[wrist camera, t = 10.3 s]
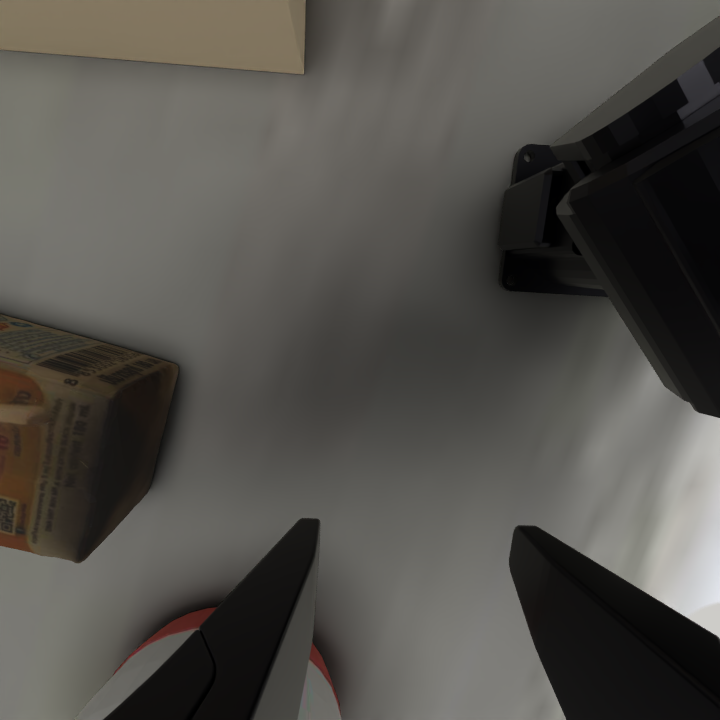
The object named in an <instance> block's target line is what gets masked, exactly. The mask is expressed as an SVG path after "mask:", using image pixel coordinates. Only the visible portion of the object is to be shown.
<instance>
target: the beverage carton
mask: <svg viewBox="0 0 720 720" xmlns="http://www.w3.org/2000/svg"><path fill="white" fill-rule="evenodd" d="M178 372H179V367H178V366H177V365H176V364H174V363H170V362H166V361H163V360H160V359H157V358H154V357H151V356H148V355H144V354H141V353H138V352H134V351H131V350H128V349H124V348H121V347H118V346H114V345H111V344H107V343H103V342H100V341H96V340H93V339H89V338H85V337H82V336H78V335H75V334H71V333H67V332H64V331H60V330H57V329H53V328H49V327H45V326H41V325H37V324H34V323H31V322H27V321H24V320H20V319H15V318H12V317H8V316H5V315H1V314H0V546H4V547H9V548H14V549H18V550H23V551H27V552H31V553H35V554H38V555H41V556H49V557H57V558H62V559H66V560H70V561H73V562H75V563H81V562H82V561H84V560H85V559H86V558H87V557H88V556H89V555H90V554H91V553H92V552H93V551H94V550H95V549H96V548H97V547H98V546H99V545H100V544H101V543H102V542H103V541H104V540H105V539H106V538H107V536H108V535H109V534H110V533H111V532H112V531H113V530H114V529H115V528H116V527H117V526H118V525H119V523H120V522H121V521H122V520H123V519H124V518H125V517H126V516H127V515H128V514H129V513H130V511H131V510H132V509H133V508H134V507H135V506H136V505H137V504H138V503H139V502H140V501H141V500H142V498H143V497H144V496H145V495H146V494H147V493H148V491H149V489H150V485H151V481H152V477H153V473H154V468H155V463H156V459H157V455H158V451H159V447H160V443H161V439H162V435H163V432H164V428H165V424H166V420H167V416H168V412H169V408H170V404H171V400H172V396H173V391H174V388H175V384H176V380H177V376H178Z"/></svg>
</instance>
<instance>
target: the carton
mask: <svg viewBox="0 0 720 720" xmlns="http://www.w3.org/2000/svg"><path fill="white" fill-rule="evenodd" d="M305 15H306V0H0V50H10V51H22V52H35V53H47V54H59V55H71V56H83V57H96V58H108V59H120V60H132V61H145V62H157V63H169V64H181V65H193V66H206V67H218V68H230V69H242V70H254V71H267V72H279V73H291V74H303V75H304V54H305Z"/></svg>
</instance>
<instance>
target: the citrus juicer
mask: <svg viewBox="0 0 720 720" xmlns="http://www.w3.org/2000/svg"><path fill="white" fill-rule="evenodd" d="M216 608H217V607H215V608H207V609H203V610H199V611H195V612H191V613H188V614H186V615H184V616H182V617H180V618H178V619H176V620H173V621H172V622H170V623H169V624H168V625H166V626H165V627H163V628H162V629H161V630H159V631H158V632H157V633H155V634H154V635H153V636H152V637H150V638H149V639H148V640H147V641H146V642H144V643H143V644H142V645H141V646H140V647H139V648H137V649H136V650H135V651H134V652H133V653H132V654H131V655H130V656H129V657H128V658H127V659H126V660H125V661H124V662H123V663H122V664H121V665H120V667H119V668H118V669H117V670H116V671H115V673H114V674H113V676H112V677H111V678H110V680H109V681H108V682H107V683H106V684H105V685H104V686H103V687H102V688H101V689H100V690H99V691H98V692H97V693H96V694H95V696H94V697H93V698H92V699H91V700H90V701H89V702H88V703H87V705H86V706H85V707H84V708H83V709H82V710H81V712H80V713H79V714H78V715H77V717H76V718H75V719H74V720H103V719H104V718H105V717H106V716H107V715H109V714H110V713H111V712H112V711H113V710H114V709H115V708H116V707H118V706H119V705H120V704H121V703H122V702H123V701H124V700H125V699H126V698H127V697H128V696H130V695H131V694H132V693H133V692H134V691H135V690H136V689H137V688H138V687H139V686H140V685H141V684H143V683H144V682H145V681H146V680H147V679H148V678H149V677H150V676H151V675H152V674H153V673H154V672H155V671H156V670H157V669H158V668H159V667H160V666H161V665H162V664H163V663H164V662H165V661H166V660H167V659H168V658H169V657H170V656H171V655H172V654H173V653H174V652H175V651H176V650H177V649H178V648H179V647H180V646H181V645H182V644H183V643H184V642H185V641H186V640H187V639H188V638H189V636H190V635H191V634H192V633H193V632H194V631H195V630H198V629H199V626H200V625H201V624H202V623H203V622H204V621H205V620H206V619H207V618H208V616H209V615H210V614H211V613H212V612H213V611H214V610H215V609H216ZM297 720H342V719H341V713H340V704H339V701H338V698H337V695H336V692H335V689H334V687H333V684H332V681H331V679H330V676H329V673H328V670H327V668H326V666H325V663H324V661H323V659H322V656H321V655H320V653H319V652H318V650H317V648H316V647H315V645H314V644H313V642H312V645H311V652H310V657H309V662H308V668H307V673H306V678H305V683H304V688H303V693H302V699H301V704H300V709H299V714H298V719H297Z"/></svg>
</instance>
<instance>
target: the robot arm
mask: <svg viewBox="0 0 720 720" xmlns="http://www.w3.org/2000/svg"><path fill="white" fill-rule="evenodd" d="M526 152H527V153H529V154H530V155H531V161H530V162H526V161H525V160H524V154H525V153H526ZM498 245H499V247H500V248H501V250H503V252H502V259H501V267H500V274H499V285H500V287H501V288H503V289H504V290H508V291H519V292H536V293H553V294H570V295H587V296H603V297H609V299H610V300H611V302H612V303H613V305H614V307H615V308H616V310H617V311H618V313H619V315H620V316H621V318H622V319H623V321H624V322H625V324H626V326H627V327H628V329H629V330H630V332H631V334H632V335H633V337H634V338H635V340H636V342H637V343H638V345H639V346H640V348H641V350H642V351H643V353H644V354H645V356H646V357H647V359H648V361H649V362H650V364H651V365H652V367H653V369H654V370H655V372H656V373H657V375H658V377H659V378H660V380H661V381H662V383H663V385H664V386H665V387H666V388H668V389H669V390H670V391H672V392H673V393H675V394H676V395H677V396H679V397H680V398H682V399H683V400H685V401H687V402H690V403H691V405H692V407H693V408H694V410H695V411H697V412H699V413H703V414H707V415H710V416H714V417H718V418H720V16H718V17H717V18H715V19H714V20H713V21H711V22H710V23H708V24H707V25H705V26H704V27H703V28H701V29H700V30H698V31H697V32H695V33H694V34H693V35H691V36H690V37H688V38H687V39H685V40H684V41H683V42H681V43H680V44H678V45H677V46H675V47H674V48H673V49H671V50H670V51H669V52H667V53H666V54H665V55H664V56H662V57H661V58H660V59H659V60H657V61H656V62H655V63H654V64H652V65H651V66H650V67H649V68H647V69H646V70H645V71H644V72H642V73H641V74H640V75H638V76H637V77H636V78H635V79H633V80H632V81H631V82H630V83H628V84H627V85H626V86H625V87H623V88H622V89H621V90H620V91H618V92H617V93H616V94H615V95H613V96H612V97H611V98H610V99H608V100H607V101H606V102H605V103H603V104H602V105H601V106H600V107H598V108H597V109H596V110H594V111H593V112H592V113H591V114H589V115H588V116H587V117H586V118H584V119H583V120H582V121H581V122H579V123H578V124H577V125H576V126H574V127H573V128H572V129H571V130H569V131H568V132H567V133H566V134H564V135H563V136H562V137H561V138H559V139H558V140H557V141H556V142H554V143H553V144H552V145H551V146H549V145H536V144H529V145H526V146H524V147H522V148H521V149H519V151H518V152H517V153H516V156H515V162H514V169H513V177H512V184H511V186H510V187H509V188H508V189H507V190H506V191H505V196H504V204H503V211H502V219H501V227H500V234H499V242H498ZM510 275H512V276H513V277H514V282H513V283H512V284H511V285H508V284H507V278H508V277H509V276H510ZM319 546H320V520H319V519H313V518H301V519H299V520H298V521H297V523H296V524H295V525H294V526H293V527H292V528H291V529H290V530H289V531H288V532H287V533H286V534H285V535H284V536H283V537H282V539H281V540H280V541H279V542H278V543H277V544H276V545H275V546H274V547H273V548H272V549H271V550H270V551H269V552H268V553H267V555H266V556H265V557H264V558H263V559H262V560H261V561H260V562H259V563H258V564H257V565H256V566H255V567H254V568H253V569H252V571H251V572H250V573H249V574H248V575H247V576H246V577H245V578H244V579H243V580H242V581H241V582H240V583H239V584H238V586H237V587H236V588H235V589H234V590H233V591H232V592H231V593H230V594H229V595H228V596H227V597H226V598H225V599H224V600H223V602H222V603H221V604H220V605H219V606H218V607H217V608H216V609H215V610H214V611H213V612H212V613H211V614H210V615H209V616H208V618H207V619H206V620H205V621H204V622H203V623H202V624H201V625H200V626H199V629H198V630H195V631H194V632H193V633H192V634H191V635H190V636H189V638H188V639H187V640H186V641H185V642H184V643H183V644H182V645H181V646H180V647H179V648H178V649H177V650H176V651H175V652H174V653H173V654H172V655H171V656H170V657H169V658H168V659H167V660H166V661H165V662H164V663H163V664H162V665H161V666H160V667H159V668H158V669H157V670H156V671H155V672H154V673H153V674H152V675H151V676H150V677H149V678H148V679H147V680H146V681H145V682H144V683H143V684H141V685H140V686H139V687H138V688H137V689H136V690H135V691H134V692H133V693H132V694H131V695H130V696H128V697H127V698H126V699H125V700H124V701H123V702H122V703H121V704H120V705H119V706H118V707H116V708H115V709H114V710H113V711H112V712H111V713H110V714H109V715H107V716H106V717H105V718H104V719H103V720H297V719H298V714H299V709H300V704H301V699H302V693H303V688H304V683H305V678H306V673H307V668H308V662H309V657H310V652H311V645H312V638H313V629H314V617H315V604H316V591H317V578H318V565H319ZM509 567H510V572H511V575H512V578H513V581H514V584H515V587H516V591H517V594H518V597H519V600H520V603H521V606H522V609H523V612H524V615H525V618H526V621H527V624H528V628H529V631H530V634H531V637H532V639H533V642H534V645H535V648H536V650H537V653H538V655H539V657H540V660H541V662H542V665H543V667H544V669H545V671H546V674H547V676H548V678H549V681H550V683H551V685H552V688H553V690H554V692H555V694H556V697H557V699H558V701H559V704H560V706H561V708H562V711H563V713H564V715H565V717H566V720H720V639H719V637H718V636H716V635H714V634H713V633H711V632H710V631H708V630H706V629H705V628H703V627H701V626H700V625H698V624H696V623H695V622H693V621H691V620H690V619H688V618H687V617H685V616H683V615H682V614H680V613H678V612H677V611H675V610H673V609H672V608H670V607H668V606H667V605H665V604H664V603H662V602H660V601H659V600H657V599H655V598H654V597H652V596H650V595H649V594H647V593H645V592H644V591H642V590H640V589H639V588H637V587H636V586H634V585H632V584H631V583H629V582H627V581H626V580H624V579H622V578H621V577H619V576H617V575H616V574H614V573H613V572H611V571H609V570H608V569H606V568H604V567H603V566H601V565H599V564H598V563H596V562H594V561H593V560H591V559H590V558H588V557H586V556H585V555H583V554H581V553H580V552H578V551H576V550H575V549H573V548H571V547H570V546H568V545H566V544H565V543H563V542H562V541H560V540H558V539H557V538H555V537H553V536H552V535H550V534H548V533H547V532H545V531H543V530H542V529H540V528H539V527H537V526H526V525H518V526H517V527H515V529H514V532H513V538H512V544H511V551H510V557H509Z"/></svg>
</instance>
